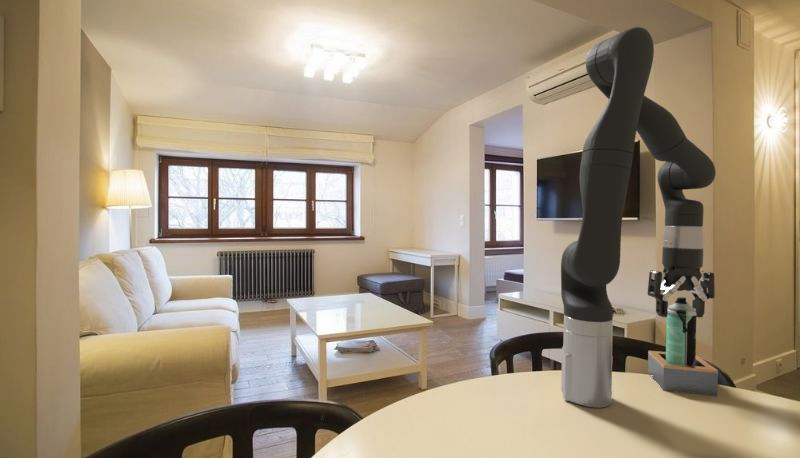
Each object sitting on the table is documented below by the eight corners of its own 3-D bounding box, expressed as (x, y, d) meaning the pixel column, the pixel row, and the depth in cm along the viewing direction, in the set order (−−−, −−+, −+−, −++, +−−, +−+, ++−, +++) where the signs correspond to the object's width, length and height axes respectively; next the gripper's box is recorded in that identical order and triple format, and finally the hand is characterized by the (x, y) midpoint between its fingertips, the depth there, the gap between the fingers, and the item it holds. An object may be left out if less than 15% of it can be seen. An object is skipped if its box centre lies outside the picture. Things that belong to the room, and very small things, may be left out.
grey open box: (663, 390, 84) (663, 365, 84) (647, 373, 94) (648, 350, 94) (717, 396, 81) (718, 370, 81) (695, 378, 91) (696, 354, 91)
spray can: (700, 390, 84) (702, 300, 84) (672, 388, 85) (674, 299, 85) (686, 380, 89) (688, 295, 89) (661, 378, 91) (662, 294, 90)
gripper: (665, 246, 83) (662, 320, 83) (726, 247, 84) (724, 321, 84) (641, 244, 90) (639, 312, 91) (697, 245, 91) (695, 312, 92)
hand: (679, 316), depth 87 cm, fingers open, 8 cm apart
